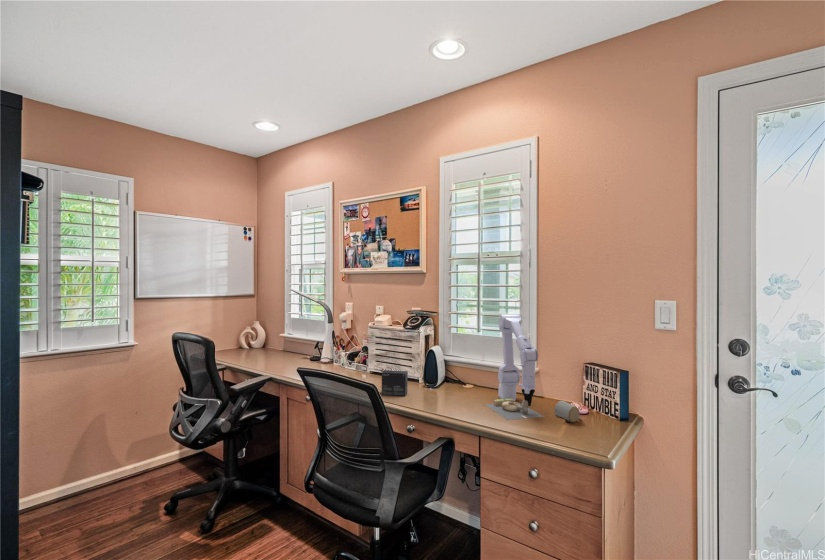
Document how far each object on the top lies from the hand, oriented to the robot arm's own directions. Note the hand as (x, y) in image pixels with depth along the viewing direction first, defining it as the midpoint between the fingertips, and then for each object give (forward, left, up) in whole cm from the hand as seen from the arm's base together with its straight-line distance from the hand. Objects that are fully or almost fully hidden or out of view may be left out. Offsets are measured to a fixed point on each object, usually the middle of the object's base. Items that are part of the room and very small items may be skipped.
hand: (528, 405), depth 181 cm
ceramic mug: (+8, +15, -5) cm, 18 cm away
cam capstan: (-4, -4, -3) cm, 6 cm away
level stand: (-5, -5, -5) cm, 8 cm away
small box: (-48, -51, -5) cm, 70 cm away
